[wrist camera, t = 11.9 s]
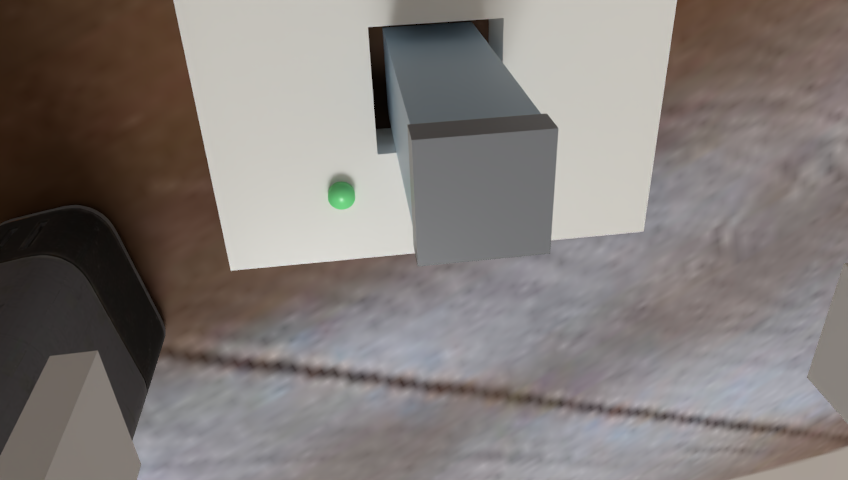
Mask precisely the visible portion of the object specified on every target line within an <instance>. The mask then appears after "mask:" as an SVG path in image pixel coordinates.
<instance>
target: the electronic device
mask: <svg viewBox="0 0 848 480" xmlns="http://www.w3.org/2000/svg"><path fill="white" fill-rule="evenodd" d="M164 338H165V326H164V323H163V321H162V318H161V317H160V315H159V313H158V311H157V309H156V307H155V305H154V303H153V301H152V299H151V297H150V295H149V293H148V291H147V289H146V287H145V285H144V283H143V281H142V280H141V278H140V276H139V274H138V272H137V270H136V268H135V266H134V264H133V262H132V260H131V258H130V256H129V254H128V252H127V250H126V248H125V246H124V245H123V243H122V241H121V239H120V237H119V235H118V233H117V231H116V230H115V228H114V226H113V225H112V223H111V222H110V221H109V219H108V218H106V217H105V216H104V215H103V214H102V213H100V212H98V211H97V210H95V209H92V208H90V207H86V206H82V205H69V206H63V207H58V208H54V209H50V210H46V211H42V212H38V213H34V214H29V215H25V216H21V217H17V218H13V219H10V220H7V221H5V222H3V223H1V224H0V455H1V453H2V451H3V449H4V447H5V445H6V443H7V441H8V439H9V437H10V435H11V433H12V431H13V429H14V427H15V425H16V423H17V421H18V419H19V417H20V415H21V413H22V411H23V409H24V407H25V405H26V403H27V401H28V399H29V397H30V395H31V393H32V391H33V389H34V387H35V385H36V383H37V381H38V379H39V377H40V375H41V373H42V371H43V369H44V367H45V365H46V363H47V361H48V359H49V357H50V356H55V355H63V354H72V353H80V352H89V351H98V352H99V355H100V358H101V360H102V363H103V366H104V368H105V371H106V373H107V376H108V379H109V381H110V384H111V387H112V389H113V392H114V395H115V397H116V400H117V402H118V405H119V408H120V410H121V413H122V416H123V418H124V421H125V423H126V426H127V429H128V431H129V434H130V437H131V439H132V440H133V437H134V434H135V431H136V427H137V424H138V421H139V418H140V415H141V412H142V408H143V405H144V402H145V399H146V396H147V393H148V389H149V386H150V383H151V380H152V377H153V373H154V370H155V367H156V364H157V361H158V358H159V354H160V351H161V348H162V345H163V342H164Z"/></svg>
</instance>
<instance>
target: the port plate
mask: <svg viewBox="0 0 848 480" xmlns="http://www.w3.org/2000/svg"><path fill="white" fill-rule="evenodd" d="M173 1H174V6H175V10H176V15H177V20H178V24H179V29H180V34H181V39H182V43H183V48H184V53H185V57H186V62H187V67H188V71H189V76H190V81H191V86H192V90H193V95H194V100H195V104H196V109H197V114H198V119H199V123H200V128H201V133H202V137H203V142H204V147H205V151H206V156H207V161H208V166H209V170H210V175H211V180H212V184H213V189H214V194H215V198H216V203H217V208H218V213H219V217H220V222H221V227H222V231H223V236H224V241H225V246H226V250H227V255H228V260H229V264H230V269H231V271H232V270H243V269H253V268H264V267H274V266H285V265H295V264H306V263H317V262H327V261H338V260H348V259H359V258H369V257H380V256H390V255H401V254H411V253H415V251H414V245H413V226H412V221H411V216H410V212H409V207H408V203H407V198H406V194H405V189H404V184H403V180H402V175H401V171H400V166H399V162H398V157H397V152H396V148H395V143H394V139H393V134H392V130H391V128H383V129H376V127H375V114H374V100H373V87H372V74H371V61H370V48H369V35H368V27H378V26H393V25H408V24H423V23H438V22H453V21H468V20H483V19H489V37H488V44H489V45H490V47H491V48H492V49H493V51H494V52H495V53H496V55H497V56H498V57H499V59H500V60H501V61H502V62H503V64H504V65H505V66H506V68H507V69H508V70H509V72H510V73H511V74H512V76H513V77H514V78H515V80H516V81H517V82H518V84H519V85H520V86H521V88H522V89H523V90H524V92H525V93H526V94H527V96H528V97H529V98H530V100H531V101H532V102H533V104H534V105H535V106H536V108H537V109H538V110H539V112H540V113H541V114H548V115H549V117H550V118H551V119H552V121H553V122H554V123H555V124H556V126H557V127H558V143H557V158H556V173H555V188H554V203H553V218H552V233H551V240H559V239H570V238H580V237H591V236H601V235H612V234H622V233H633V232H644V225H645V218H646V211H647V204H648V197H649V190H650V183H651V176H652V169H653V162H654V155H655V148H656V142H657V135H658V128H659V121H660V114H661V107H662V100H663V93H664V86H665V79H666V72H667V65H668V59H669V52H670V45H671V38H672V31H673V24H674V17H675V10H676V3H677V0H173Z"/></svg>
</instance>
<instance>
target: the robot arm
mask: <svg viewBox="0 0 848 480" xmlns="http://www.w3.org/2000/svg"><path fill="white" fill-rule="evenodd" d="M807 378H808V379H809V380H810V381H811V382H812V383H813V385H814V386H815V387H816V388H817V389H818V390H819V392H820V393H821V394H822V395H823V396H824V397H825V398H826V400H827V401H828V402H829V403H830V404H831V405H832V407H833V408H834V409H835V410H836V411H837V412H838V413H839V415H840V416H841V417H842V418H843V419H844V420H845V421H846V423H847V424H848V263H845V264H844V265H843V268H842V271H841V274H840V277H839V280H838V283H837V286H836V289H835V293H834V296H833V299H832V302H831V305H830V308H829V311H828V314H827V317H826V320H825V323H824V327H823V330H822V333H821V336H820V339H819V342H818V345H817V348H816V351H815V354H814V357H813V360H812V364H811V367H810V370H809V373H808V376H807ZM140 466H141V463H140V460H139V458H138V455H137V452H136V450H135V447H134V444H133V442H132V439H131V437H130V434H129V431H128V429H127V426H126V423H125V421H124V418H123V416H122V413H121V410H120V408H119V405H118V402H117V400H116V397H115V395H114V392H113V389H112V387H111V384H110V381H109V379H108V376H107V373H106V371H105V368H104V366H103V363H102V360H101V358H100V355H99V352H98V351H89V352H80V353H72V354H63V355H55V356H50V357H49V359H48V361H47V363H46V365H45V367H44V369H43V371H42V373H41V375H40V377H39V379H38V381H37V383H36V385H35V387H34V389H33V391H32V393H31V395H30V397H29V399H28V401H27V403H26V405H25V407H24V409H23V411H22V413H21V415H20V417H19V419H18V421H17V423H16V425H15V427H14V429H13V431H12V433H11V435H10V437H9V439H8V441H7V443H6V445H5V447H4V449H3V451H2V453H1V455H0V480H137V477H138V473H139V470H140Z"/></svg>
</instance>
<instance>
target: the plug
mask: <svg viewBox="0 0 848 480" xmlns="http://www.w3.org/2000/svg"><path fill="white" fill-rule="evenodd" d="M382 30H383V45H384V60H385V76H386V91H387V106H388V116H389V121H390V125H391V130H392V134H393V139H394V143H395V148H396V152H397V157H398V162H399V166H400V171H401V175H402V180H403V184H404V189H405V194H406V198H407V203H408V207H409V212H410V216H411V221H412V226H413V245H414V251H415V256H416V261H417V265H418V266H427V265H438V264H448V263H458V262H469V261H479V260H489V259H500V258H510V257H520V256H531V255H541V254H550V248H551V233H552V218H553V203H554V188H555V173H556V158H557V143H558V127H557V126H556V124H555V123H554V122H553V121H552V119H551V118H550V117H549V115H548V114H541V113H540V112H539V110H538V109H537V108H536V106H535V105H534V104H533V102H532V101H531V100H530V98H529V97H528V96H527V94H526V93H525V92H524V90H523V89H522V88H521V86H520V85H519V84H518V82H517V81H516V80H515V78H514V77H513V76H512V74H511V73H510V72H509V70H508V69H507V68H506V66H505V65H504V64H503V62H502V61H501V60H500V59H499V57H498V56H497V55H496V53H495V52H494V51H493V49H492V48H491V47H490V45H489V44H488V43H487V41H486V40H485V39H484V37H483V36H482V35H481V33H480V32H479V31H478V29H477V28H476V27H475V25H474V24H473V23H472V22H459V23H444V24H429V25H414V26H399V27H384V28H382Z"/></svg>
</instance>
